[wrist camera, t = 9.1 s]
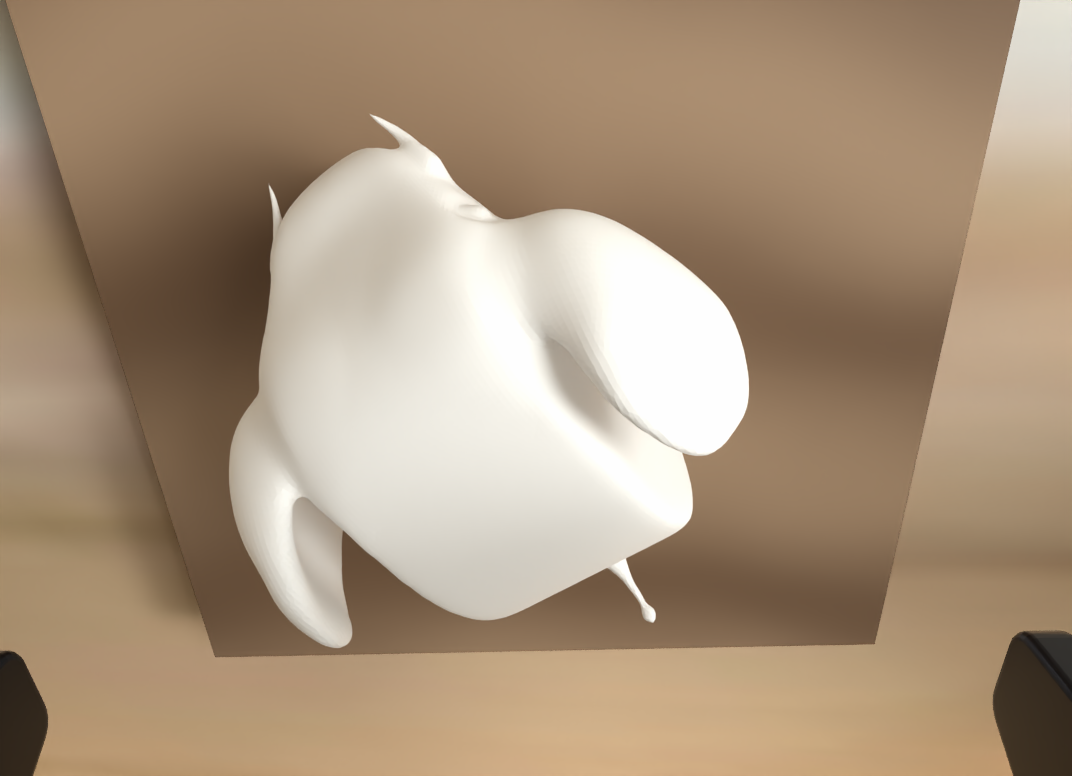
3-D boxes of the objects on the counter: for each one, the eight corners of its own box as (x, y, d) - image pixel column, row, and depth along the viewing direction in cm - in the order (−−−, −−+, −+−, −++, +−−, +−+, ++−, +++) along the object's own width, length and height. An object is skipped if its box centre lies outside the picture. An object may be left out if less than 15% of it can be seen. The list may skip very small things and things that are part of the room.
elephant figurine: (534, -36, 12) (527, 50, 7) (798, 381, 15) (924, 644, 10) (183, 233, 14) (-19, 450, 9) (484, 550, 18) (460, 838, 12)
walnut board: (853, 593, 20) (874, 644, 19) (235, 605, 20) (215, 657, 19) (1032, -300, 12) (1091, -318, 10) (-14, -252, 12) (-79, -263, 11)
